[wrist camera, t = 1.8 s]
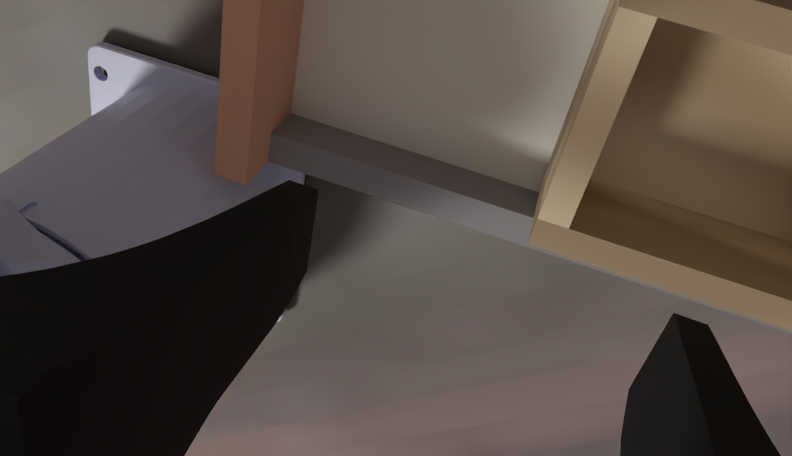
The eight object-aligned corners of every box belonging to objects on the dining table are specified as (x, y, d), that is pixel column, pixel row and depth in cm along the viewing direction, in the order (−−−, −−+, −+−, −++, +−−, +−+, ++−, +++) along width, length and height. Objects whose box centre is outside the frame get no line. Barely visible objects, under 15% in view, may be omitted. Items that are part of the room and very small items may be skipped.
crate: (817, 266, 20) (847, 349, 17) (542, 179, 21) (527, 243, 18) (985, 28, 16) (1060, 84, 13) (634, -67, 17) (633, -33, 14)
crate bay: (850, 305, 21) (888, 400, 18) (272, 119, 24) (214, 174, 20) (1105, -26, 16) (1227, 28, 12) (307, -231, 18) (235, -231, 15)
